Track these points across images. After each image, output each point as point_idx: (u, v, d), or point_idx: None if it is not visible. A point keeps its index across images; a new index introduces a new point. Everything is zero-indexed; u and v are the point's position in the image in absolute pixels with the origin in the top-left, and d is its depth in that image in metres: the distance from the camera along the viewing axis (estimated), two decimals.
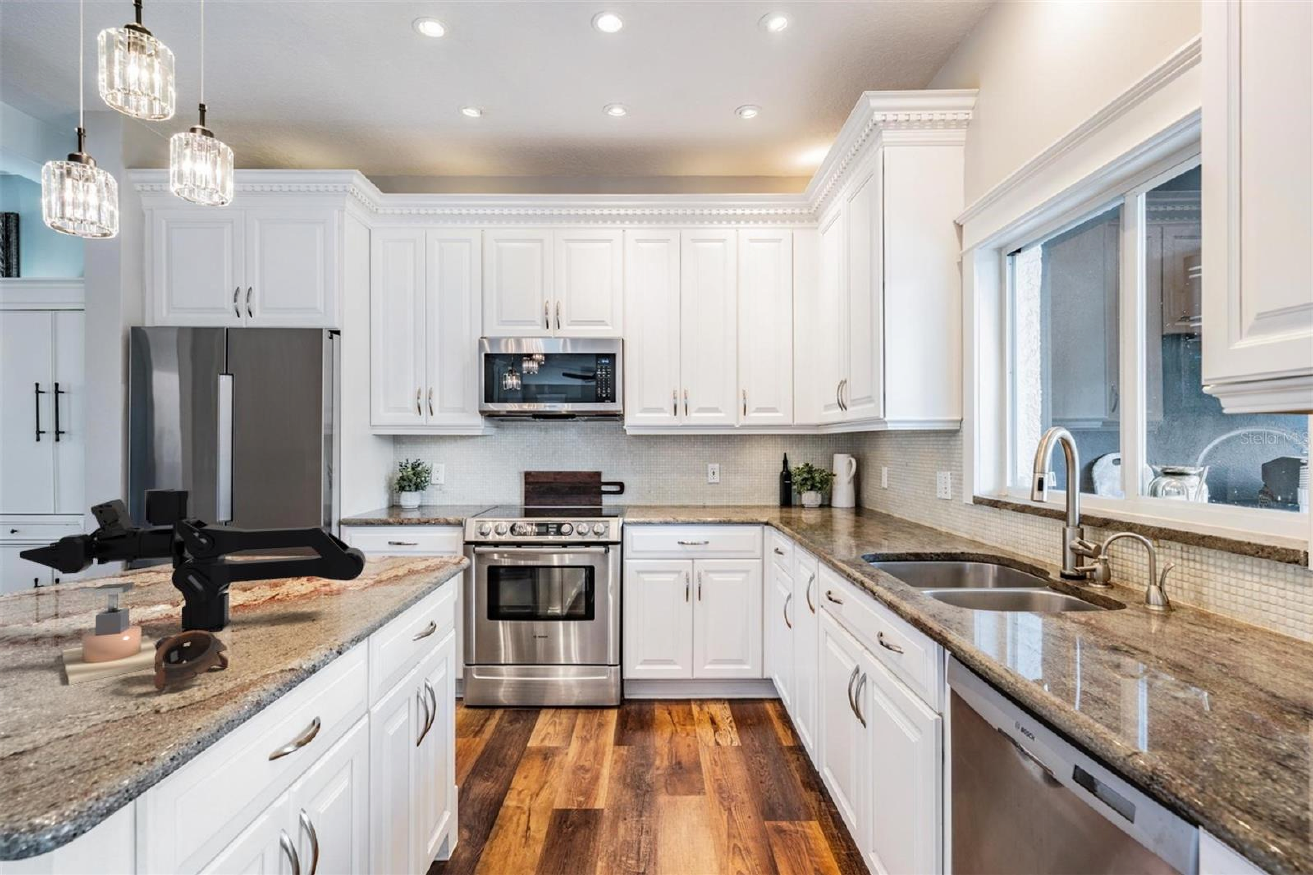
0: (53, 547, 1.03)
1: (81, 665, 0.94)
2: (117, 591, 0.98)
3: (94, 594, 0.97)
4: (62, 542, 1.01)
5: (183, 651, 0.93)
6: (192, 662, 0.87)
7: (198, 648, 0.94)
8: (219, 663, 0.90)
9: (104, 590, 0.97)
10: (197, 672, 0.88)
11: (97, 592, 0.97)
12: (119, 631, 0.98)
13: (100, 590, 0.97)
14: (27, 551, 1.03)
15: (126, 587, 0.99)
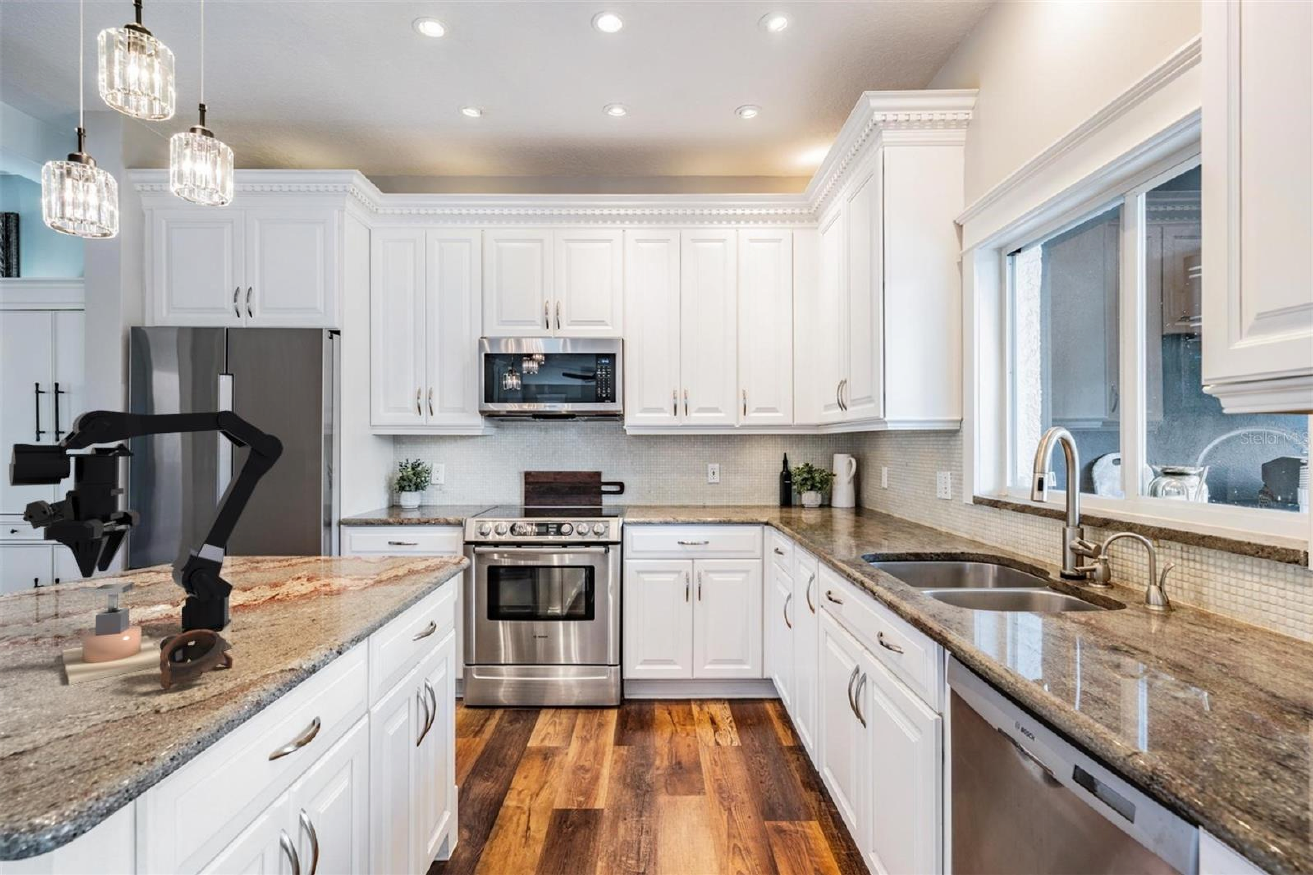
0: (73, 549, 0.99)
1: (81, 665, 0.94)
2: (117, 591, 0.98)
3: (94, 594, 0.97)
4: (48, 539, 0.94)
5: (188, 650, 0.94)
6: (198, 660, 0.88)
7: (202, 647, 0.95)
8: (224, 662, 0.91)
9: (104, 590, 0.97)
10: (203, 671, 0.88)
11: (97, 592, 0.97)
12: (119, 631, 0.98)
13: (100, 590, 0.97)
14: (81, 571, 1.01)
15: (126, 587, 0.99)
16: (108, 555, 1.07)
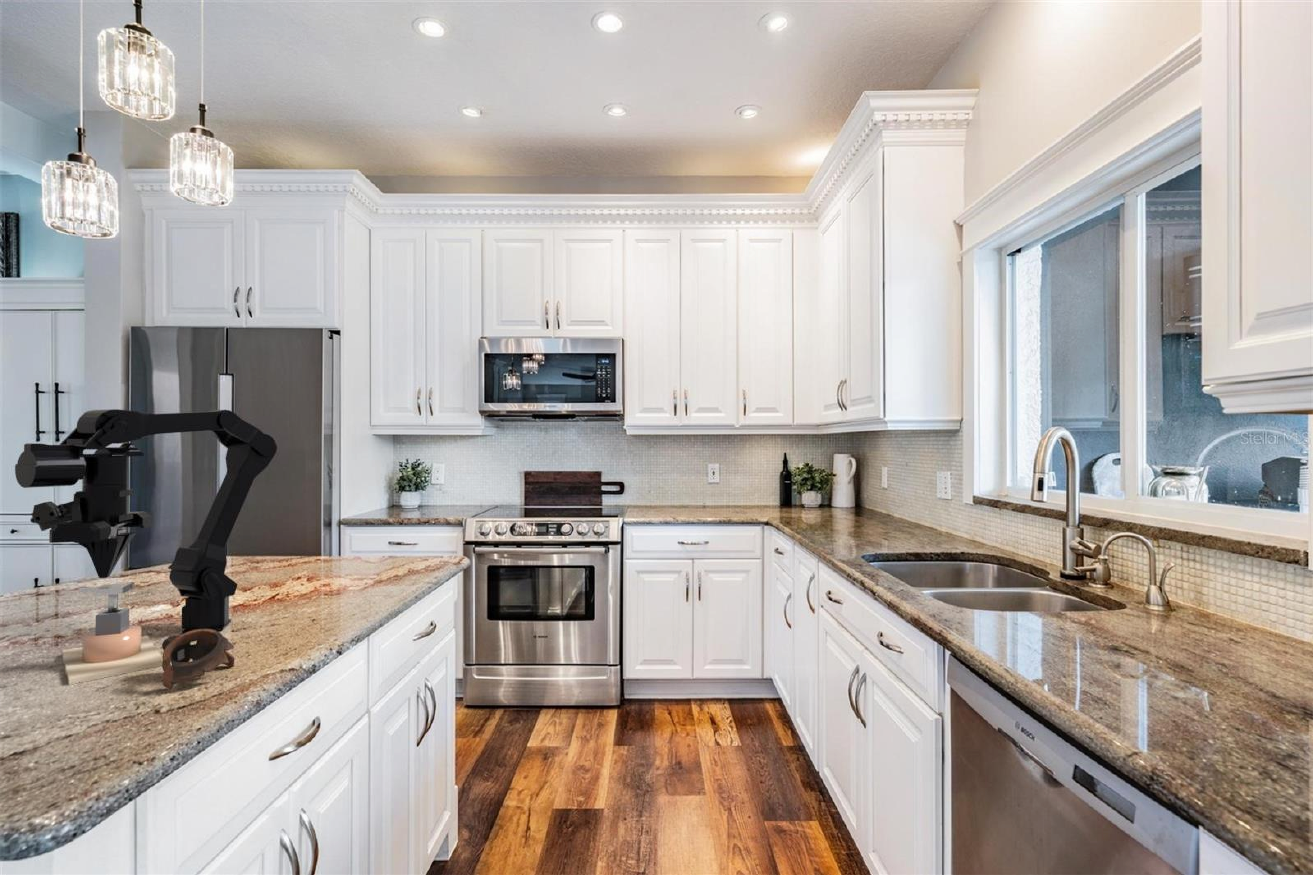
0: (89, 549, 0.99)
1: (81, 665, 0.94)
2: (117, 591, 0.98)
3: (94, 594, 0.97)
4: (53, 541, 0.92)
5: (190, 649, 0.94)
6: (200, 660, 0.88)
7: (204, 646, 0.95)
8: (226, 661, 0.91)
9: (104, 590, 0.97)
10: (205, 670, 0.88)
11: (97, 592, 0.97)
12: (119, 631, 0.98)
13: (100, 590, 0.97)
14: (97, 571, 1.00)
15: (126, 587, 0.99)
16: None
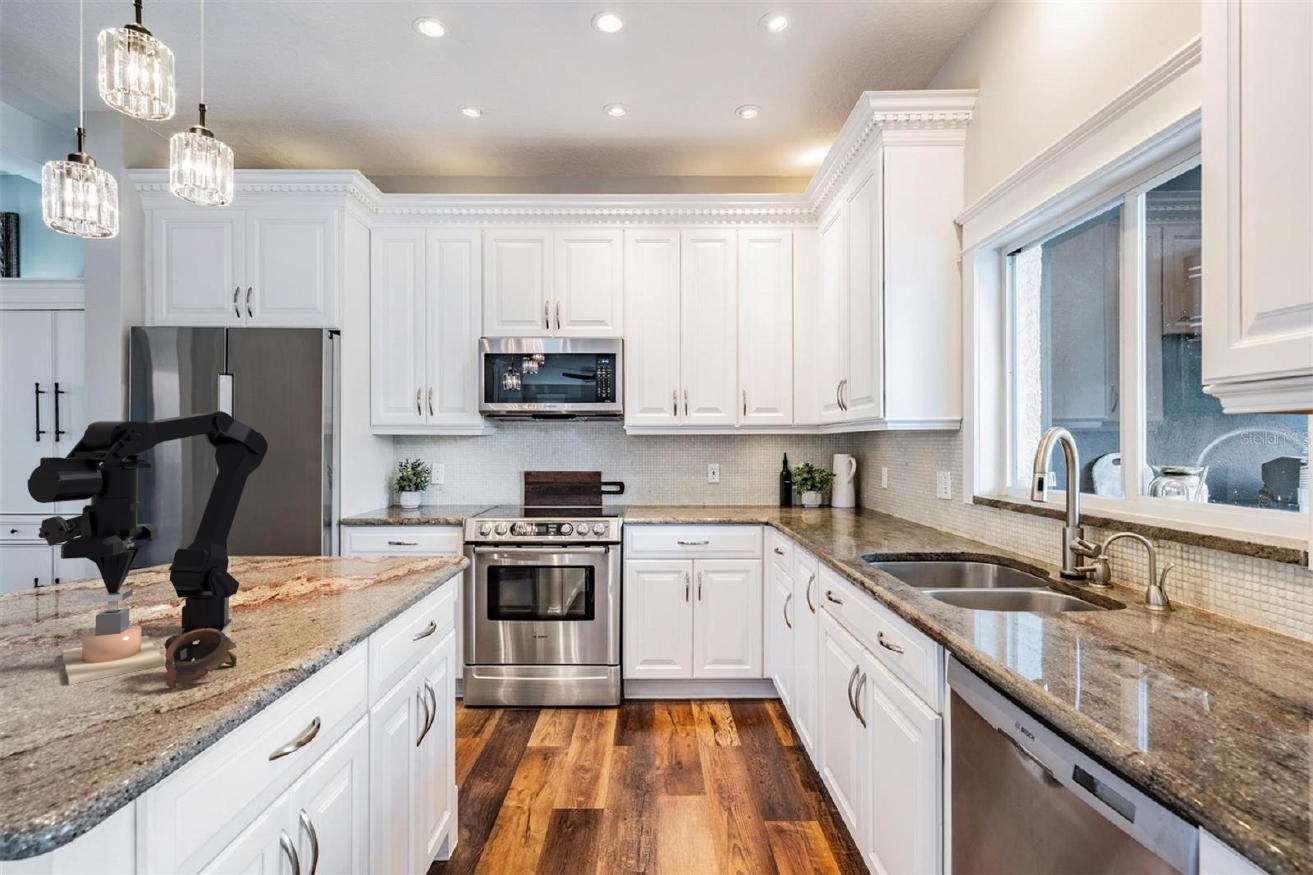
0: (99, 564, 0.97)
1: (81, 665, 0.94)
2: (117, 597, 0.98)
3: (94, 601, 0.97)
4: (65, 557, 0.90)
5: (192, 649, 0.94)
6: (203, 659, 0.88)
7: (207, 646, 0.95)
8: (229, 660, 0.91)
9: (104, 597, 0.97)
10: (208, 669, 0.89)
11: (97, 599, 0.97)
12: (119, 631, 0.98)
13: (100, 597, 0.97)
14: (107, 586, 0.98)
15: (126, 593, 0.99)
16: None
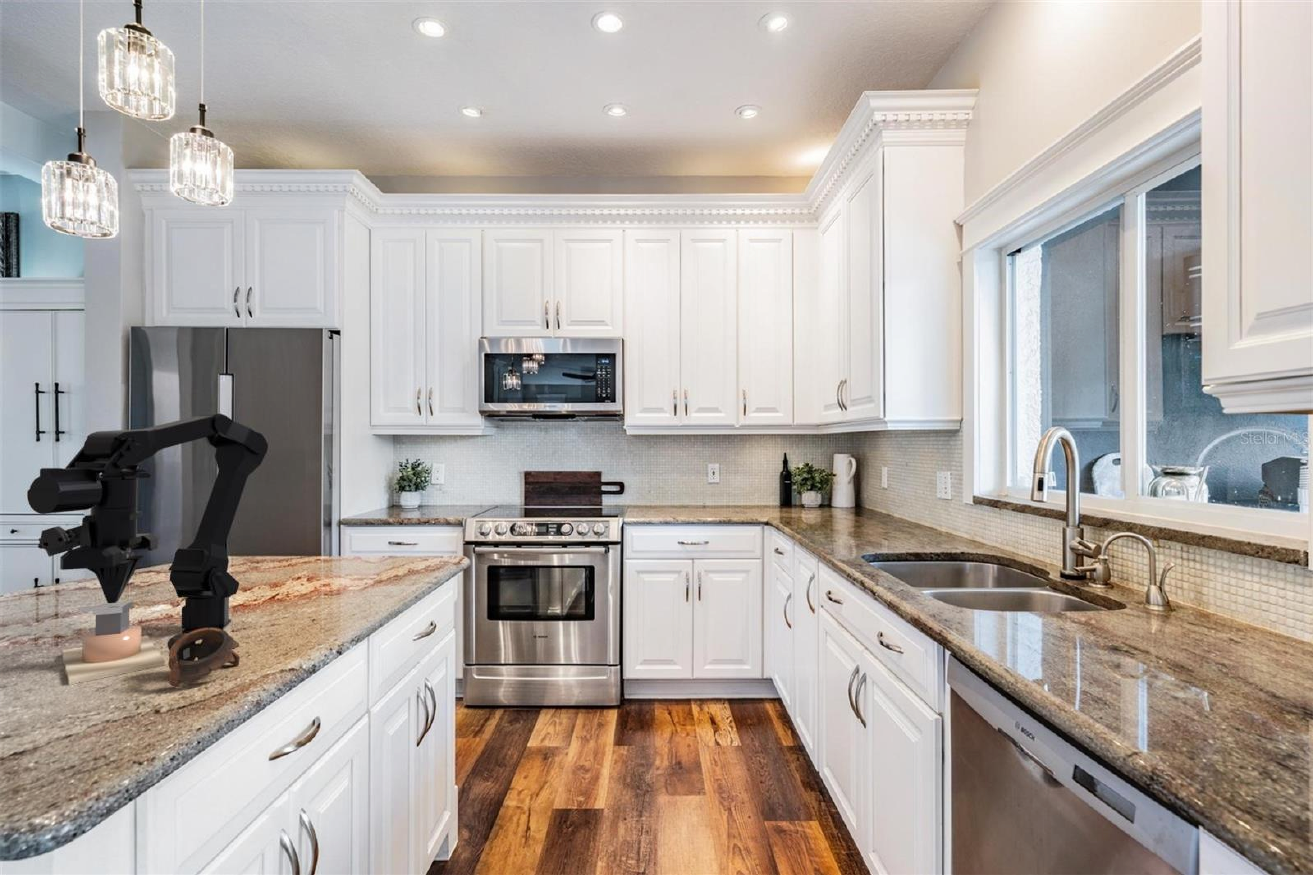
0: (98, 574, 0.97)
1: (81, 665, 0.94)
2: (117, 610, 0.98)
3: (94, 613, 0.97)
4: (65, 568, 0.90)
5: (195, 648, 0.94)
6: (206, 658, 0.89)
7: (210, 645, 0.96)
8: (232, 660, 0.92)
9: (104, 609, 0.97)
10: (212, 668, 0.89)
11: (97, 611, 0.97)
12: (119, 631, 0.98)
13: (100, 609, 0.97)
14: (106, 596, 0.98)
15: (126, 606, 0.99)
16: None
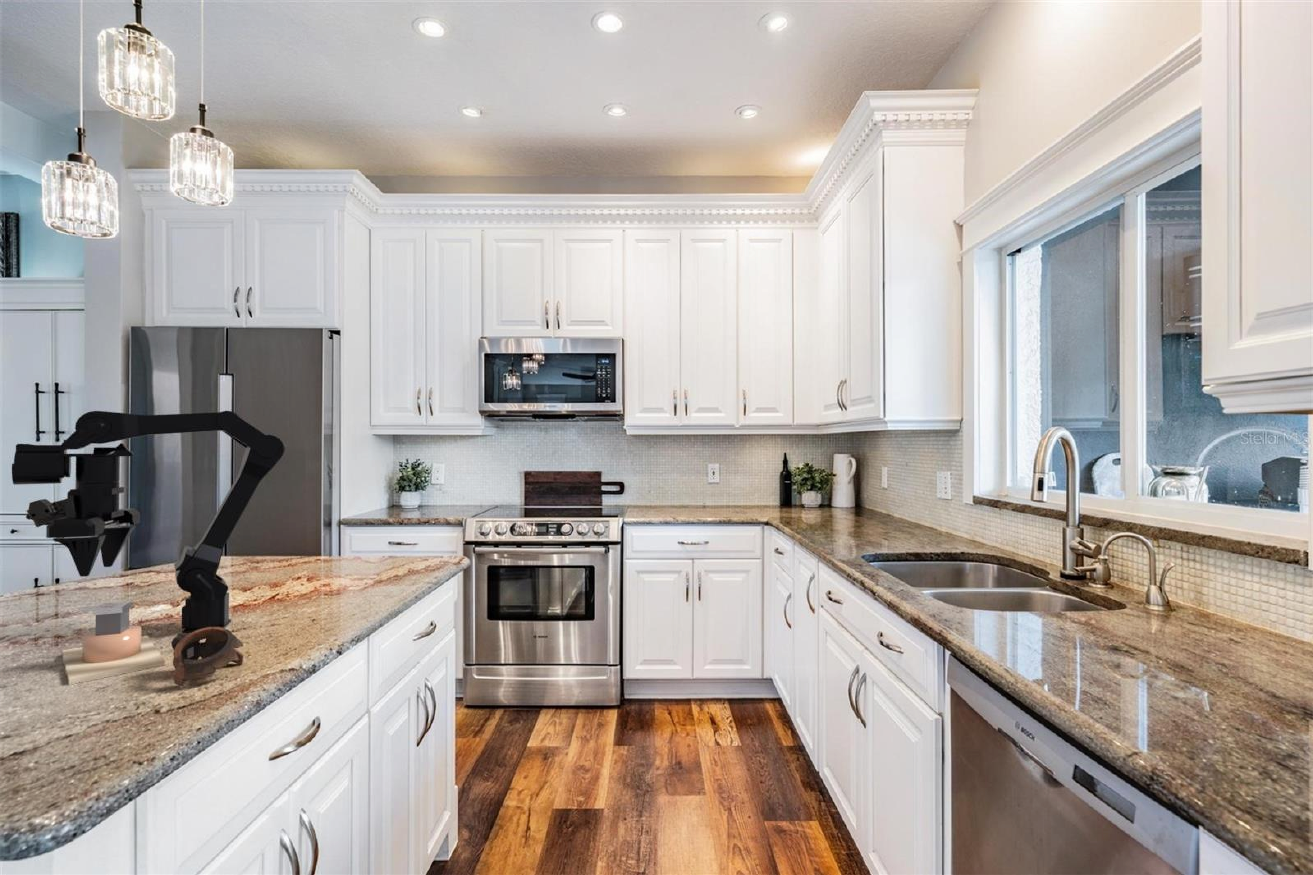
0: (70, 548, 1.00)
1: (81, 665, 0.94)
2: (117, 610, 0.98)
3: (94, 613, 0.97)
4: (50, 537, 0.97)
5: (199, 647, 0.95)
6: (211, 657, 0.89)
7: (213, 644, 0.96)
8: (236, 659, 0.92)
9: (104, 609, 0.97)
10: (216, 667, 0.89)
11: (97, 611, 0.97)
12: (119, 631, 0.98)
13: (100, 609, 0.97)
14: (78, 570, 1.02)
15: (126, 606, 0.99)
16: (113, 552, 1.10)
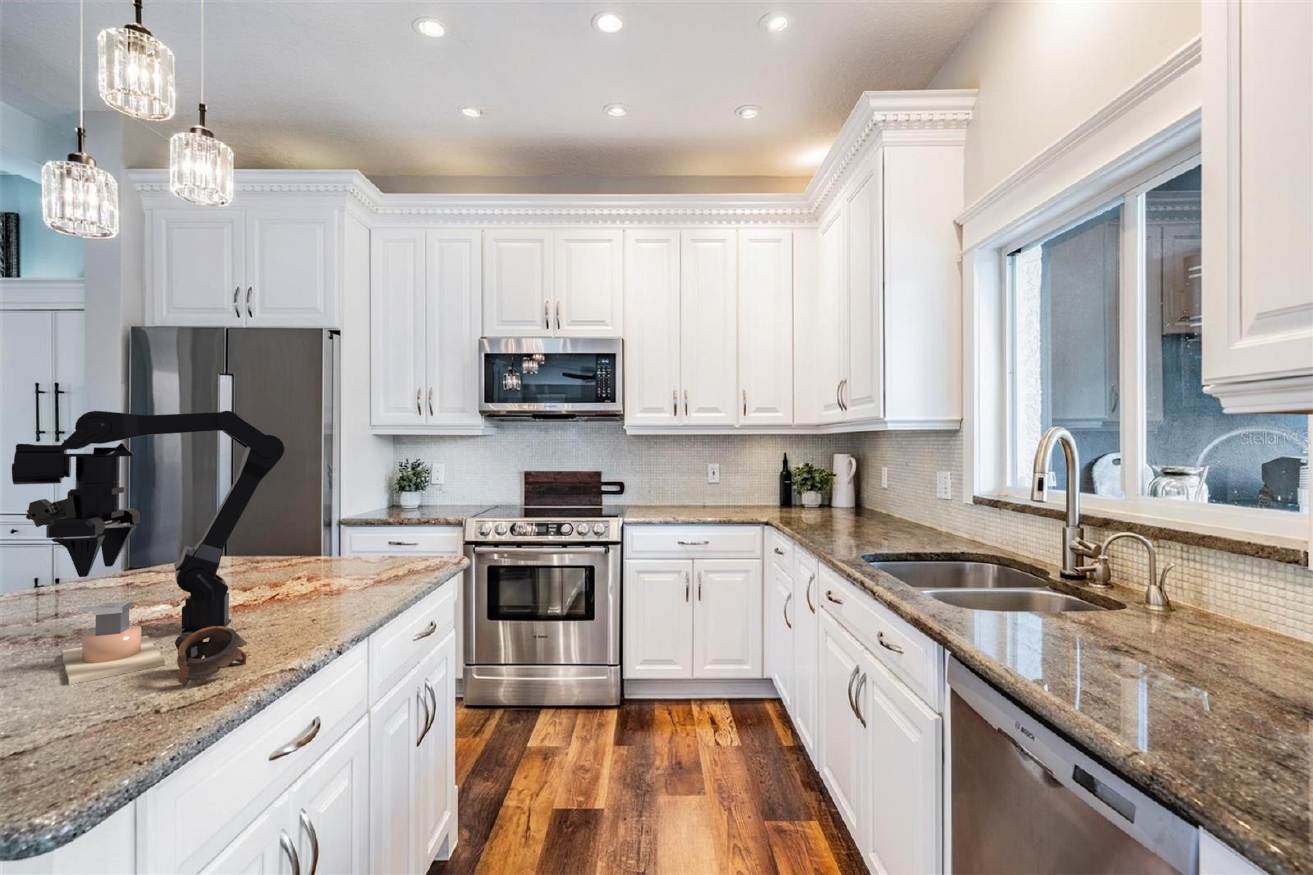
0: (69, 548, 1.00)
1: (81, 665, 0.94)
2: (117, 610, 0.98)
3: (94, 613, 0.97)
4: (50, 537, 0.97)
5: (202, 647, 0.95)
6: (215, 656, 0.89)
7: (217, 644, 0.96)
8: (240, 658, 0.92)
9: (104, 609, 0.97)
10: (220, 666, 0.90)
11: (97, 611, 0.97)
12: (119, 631, 0.98)
13: (100, 609, 0.97)
14: (77, 570, 1.01)
15: (126, 606, 0.99)
16: (114, 551, 1.11)
